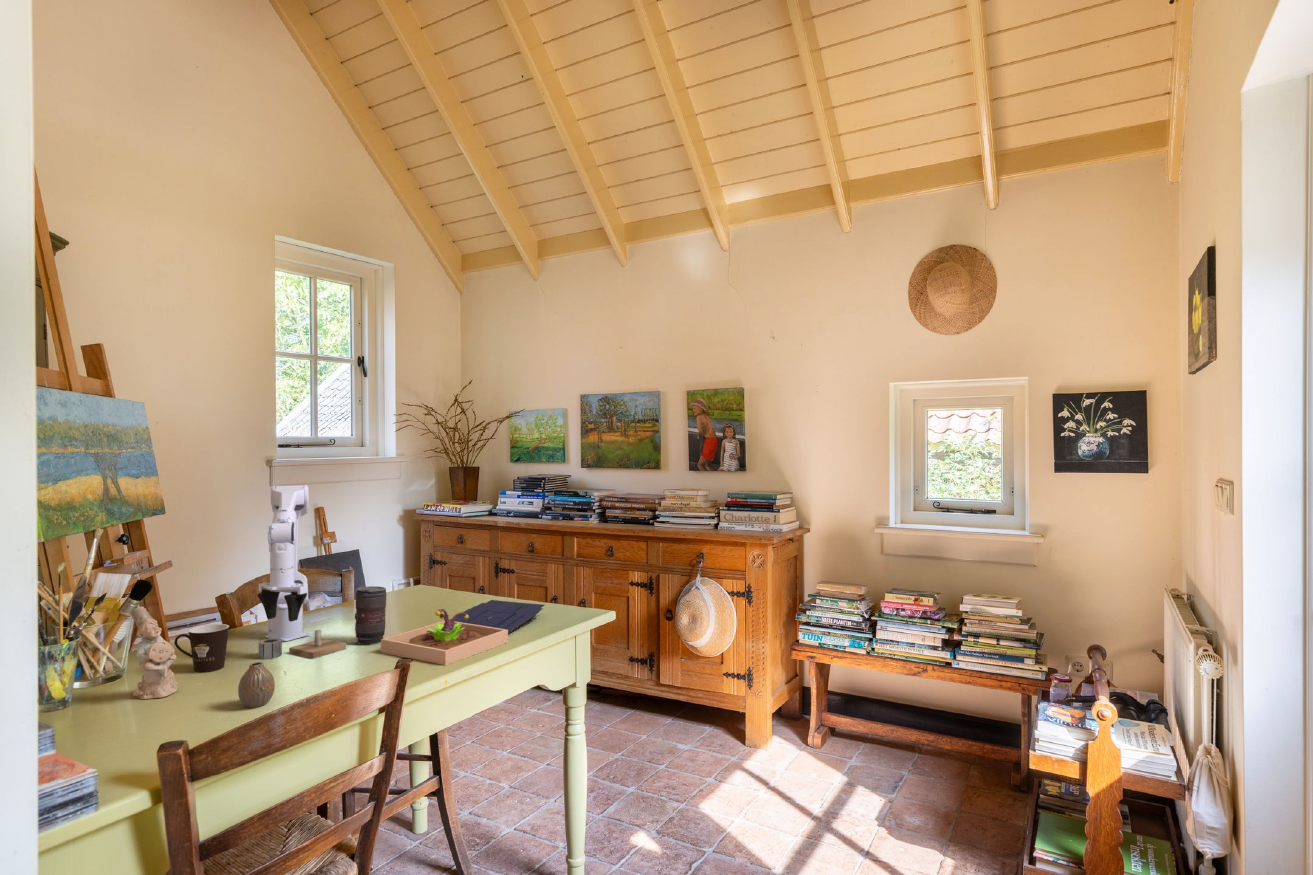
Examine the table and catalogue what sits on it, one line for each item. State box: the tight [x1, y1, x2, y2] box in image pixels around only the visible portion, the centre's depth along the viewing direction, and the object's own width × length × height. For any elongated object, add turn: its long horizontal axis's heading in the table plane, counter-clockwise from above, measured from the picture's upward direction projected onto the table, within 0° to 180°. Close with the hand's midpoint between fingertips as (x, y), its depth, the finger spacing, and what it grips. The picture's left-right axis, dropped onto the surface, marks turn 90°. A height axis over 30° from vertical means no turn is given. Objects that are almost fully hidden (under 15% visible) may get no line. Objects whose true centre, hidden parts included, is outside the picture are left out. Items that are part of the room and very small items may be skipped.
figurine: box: [130, 606, 179, 700], centre depth 162 cm, size 9×8×20 cm
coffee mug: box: [174, 623, 230, 674], centre depth 181 cm, size 12×9×10 cm
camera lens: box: [354, 585, 387, 645], centre depth 204 cm, size 8×8×15 cm
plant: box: [409, 608, 484, 650], centre depth 198 cm, size 20×20×11 cm
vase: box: [237, 661, 276, 709], centre depth 155 cm, size 7×7×9 cm
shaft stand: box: [288, 629, 347, 659], centre depth 195 cm, size 10×10×6 cm
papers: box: [449, 599, 545, 635], centre depth 223 cm, size 24×30×4 cm
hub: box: [257, 638, 283, 660], centre depth 190 cm, size 5×5×4 cm
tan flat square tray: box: [380, 620, 509, 666], centre depth 198 cm, size 24×24×4 cm
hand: (282, 619), depth 191 cm, fingers open, 7 cm apart
